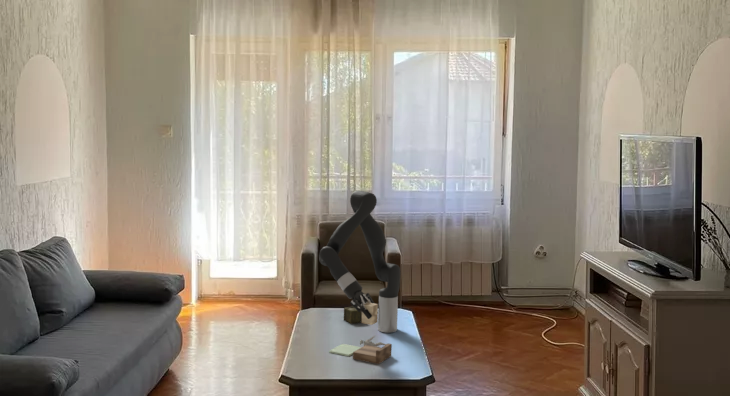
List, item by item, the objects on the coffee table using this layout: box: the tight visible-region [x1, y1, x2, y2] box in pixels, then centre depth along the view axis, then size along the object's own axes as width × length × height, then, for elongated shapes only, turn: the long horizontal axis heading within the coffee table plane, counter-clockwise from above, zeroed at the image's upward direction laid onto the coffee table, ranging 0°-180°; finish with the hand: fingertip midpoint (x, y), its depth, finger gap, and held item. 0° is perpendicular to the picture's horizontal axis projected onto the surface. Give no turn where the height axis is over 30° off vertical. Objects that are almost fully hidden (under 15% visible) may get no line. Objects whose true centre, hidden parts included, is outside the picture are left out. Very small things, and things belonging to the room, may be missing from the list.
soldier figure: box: [359, 335, 388, 347], centre depth 325 cm, size 8×5×12 cm
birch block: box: [361, 302, 379, 326], centre depth 313 cm, size 5×5×8 cm
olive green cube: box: [343, 306, 363, 325], centre depth 370 cm, size 7×7×7 cm
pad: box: [328, 343, 361, 357], centre depth 322 cm, size 12×10×1 cm
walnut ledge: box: [352, 343, 393, 365], centre depth 313 cm, size 12×12×6 cm
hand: (373, 316), depth 312 cm, fingers closed on birch block, 5 cm apart
